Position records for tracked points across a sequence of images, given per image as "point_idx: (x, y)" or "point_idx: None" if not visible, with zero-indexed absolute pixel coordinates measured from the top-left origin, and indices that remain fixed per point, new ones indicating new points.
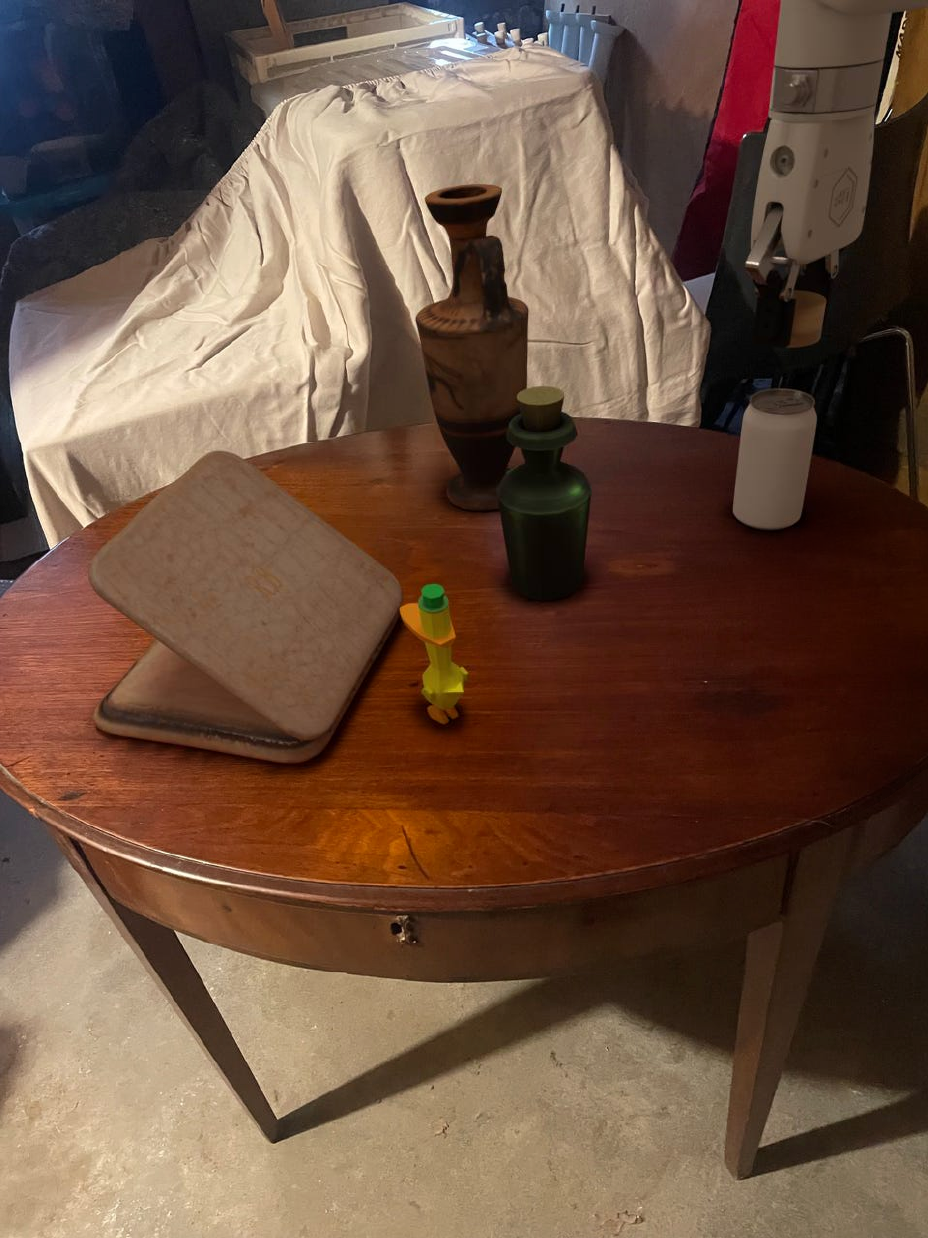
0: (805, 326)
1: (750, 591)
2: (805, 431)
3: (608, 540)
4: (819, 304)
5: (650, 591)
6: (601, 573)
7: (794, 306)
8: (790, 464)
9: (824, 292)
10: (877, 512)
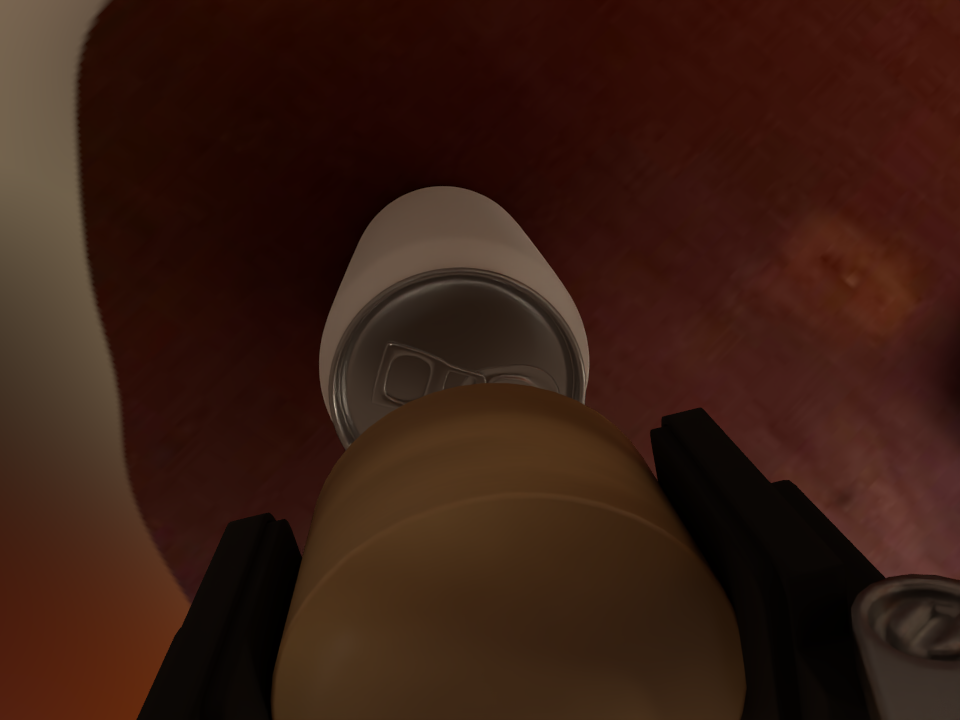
0: (584, 441)
1: (749, 22)
2: (461, 232)
3: (819, 410)
4: (463, 522)
5: (917, 178)
6: (935, 307)
7: (780, 536)
8: (494, 221)
9: (243, 671)
10: (179, 98)
